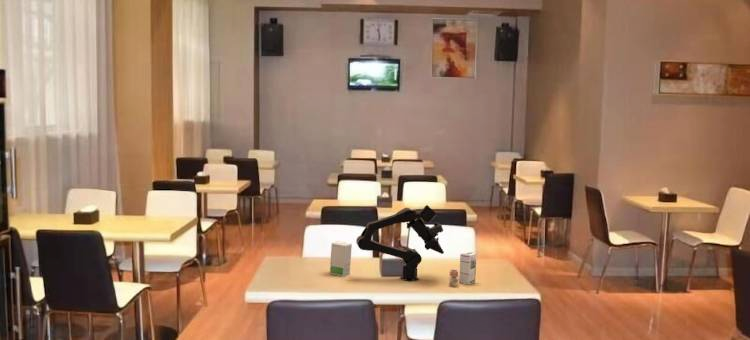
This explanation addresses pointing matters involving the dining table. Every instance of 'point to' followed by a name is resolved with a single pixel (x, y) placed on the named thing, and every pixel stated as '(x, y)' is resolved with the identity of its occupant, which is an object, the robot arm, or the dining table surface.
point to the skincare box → (340, 258)
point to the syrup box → (467, 268)
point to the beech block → (453, 281)
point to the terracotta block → (454, 273)
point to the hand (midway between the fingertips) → (443, 253)
